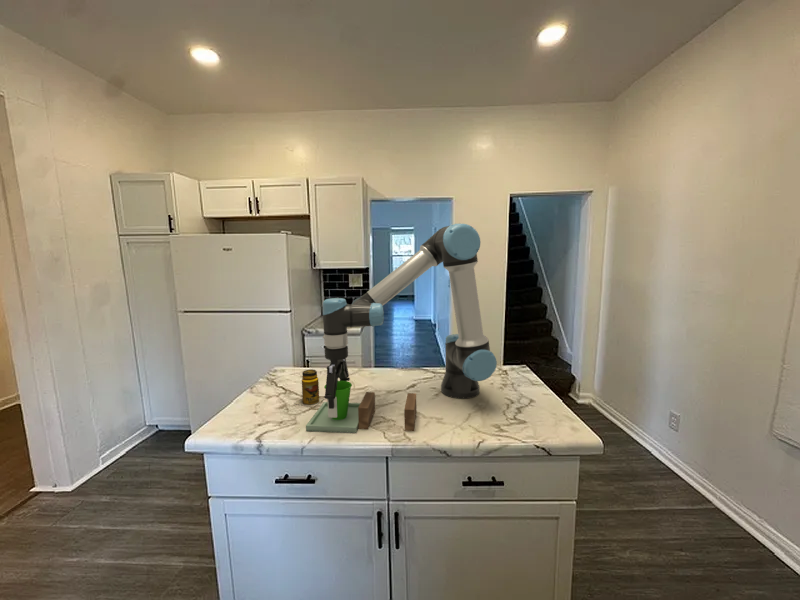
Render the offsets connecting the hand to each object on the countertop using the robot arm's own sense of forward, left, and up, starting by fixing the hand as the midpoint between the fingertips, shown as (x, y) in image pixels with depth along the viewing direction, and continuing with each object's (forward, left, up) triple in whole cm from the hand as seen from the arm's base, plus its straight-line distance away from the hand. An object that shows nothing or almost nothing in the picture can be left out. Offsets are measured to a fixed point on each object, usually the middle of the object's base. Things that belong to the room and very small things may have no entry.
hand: (338, 407), depth 118 cm
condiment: (+15, -13, -4) cm, 20 cm away
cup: (0, 0, -3) cm, 3 cm away
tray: (0, 0, -4) cm, 4 cm away
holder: (-17, 0, -4) cm, 17 cm away
